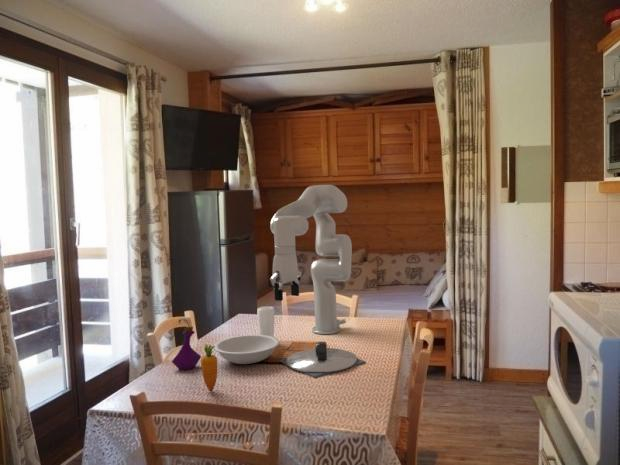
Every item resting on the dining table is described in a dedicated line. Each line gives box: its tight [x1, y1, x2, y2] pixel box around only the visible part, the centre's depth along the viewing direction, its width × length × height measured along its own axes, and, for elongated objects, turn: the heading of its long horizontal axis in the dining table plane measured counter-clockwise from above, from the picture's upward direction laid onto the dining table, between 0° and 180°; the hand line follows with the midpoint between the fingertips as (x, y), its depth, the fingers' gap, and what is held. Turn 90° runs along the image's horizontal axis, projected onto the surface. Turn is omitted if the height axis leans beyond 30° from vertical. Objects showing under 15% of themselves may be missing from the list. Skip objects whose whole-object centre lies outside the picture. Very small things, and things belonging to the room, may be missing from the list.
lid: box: [286, 341, 358, 373], centre depth 181 cm, size 25×25×6 cm
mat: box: [278, 357, 366, 379], centre depth 182 cm, size 22×22×1 cm
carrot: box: [200, 343, 218, 393], centre depth 158 cm, size 5×5×15 cm
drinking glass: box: [256, 306, 275, 337], centre depth 206 cm, size 7×7×15 cm
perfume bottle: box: [171, 317, 202, 371], centre depth 182 cm, size 8×8×18 cm
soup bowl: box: [213, 334, 280, 365], centre depth 187 cm, size 24×24×7 cm
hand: (287, 298), depth 185 cm, fingers open, 9 cm apart
